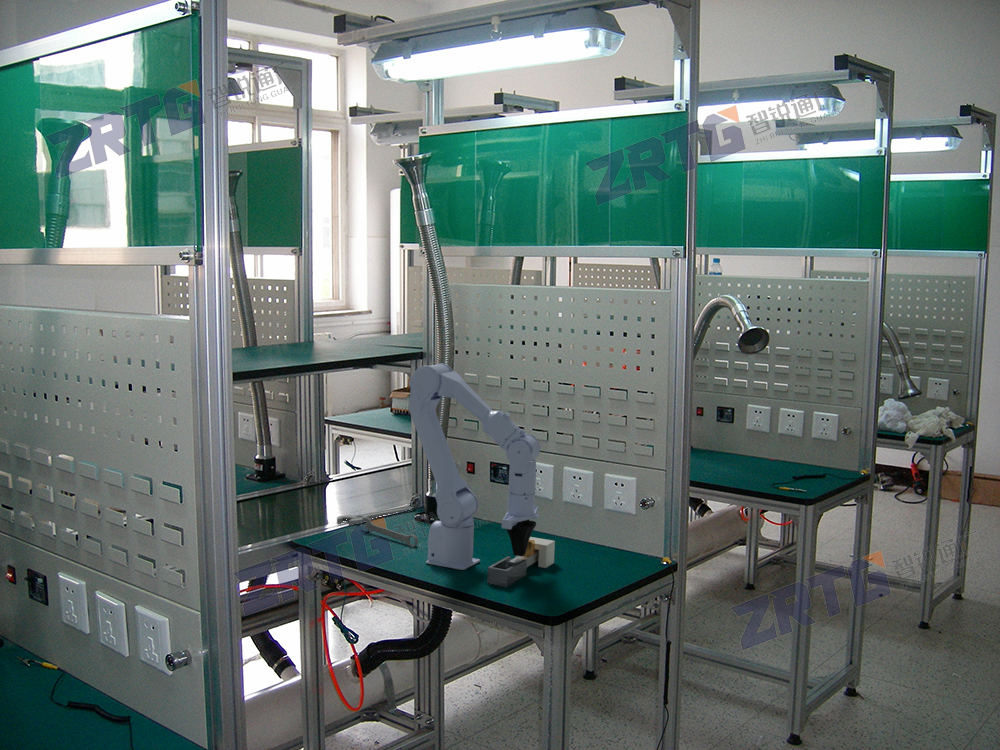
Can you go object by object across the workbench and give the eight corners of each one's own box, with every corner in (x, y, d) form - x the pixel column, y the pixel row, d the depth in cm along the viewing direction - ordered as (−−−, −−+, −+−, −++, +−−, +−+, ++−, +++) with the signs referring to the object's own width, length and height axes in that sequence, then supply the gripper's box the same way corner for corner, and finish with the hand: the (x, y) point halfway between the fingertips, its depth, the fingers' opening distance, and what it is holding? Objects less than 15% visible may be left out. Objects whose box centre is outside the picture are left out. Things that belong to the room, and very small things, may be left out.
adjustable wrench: (411, 510, 250) (411, 504, 250) (426, 515, 245) (426, 508, 245) (333, 523, 233) (333, 516, 233) (347, 528, 228) (347, 521, 228)
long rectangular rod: (507, 570, 194) (508, 547, 193) (531, 557, 205) (532, 534, 204) (518, 572, 193) (519, 548, 192) (541, 558, 203) (542, 536, 203)
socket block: (515, 562, 203) (516, 540, 203) (524, 557, 207) (525, 535, 207) (545, 567, 200) (546, 545, 199) (553, 562, 204) (554, 540, 203)
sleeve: (487, 583, 188) (487, 567, 187) (507, 571, 196) (508, 556, 196) (506, 587, 186) (507, 571, 185) (526, 575, 194) (526, 559, 194)
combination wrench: (419, 533, 213) (364, 515, 226) (414, 534, 212) (359, 515, 225) (418, 549, 213) (363, 530, 226) (414, 550, 212) (359, 530, 225)
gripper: (524, 501, 186) (522, 566, 187) (552, 488, 199) (549, 549, 200) (493, 496, 189) (491, 561, 190) (522, 484, 202) (520, 545, 203)
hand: (519, 555), depth 196 cm, fingers closed
